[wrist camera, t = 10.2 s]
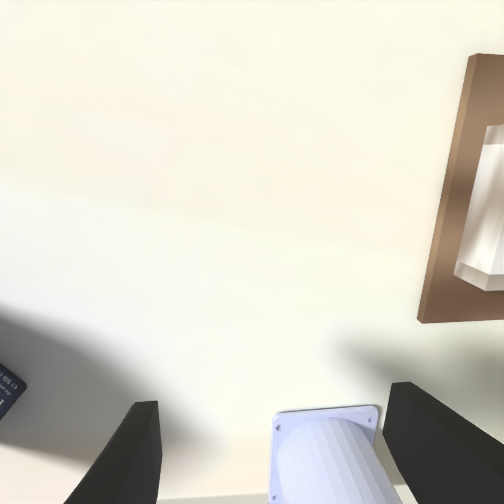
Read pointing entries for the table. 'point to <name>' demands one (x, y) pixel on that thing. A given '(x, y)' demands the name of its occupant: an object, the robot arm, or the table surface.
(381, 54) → the table surface
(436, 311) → the pocket plate
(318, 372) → the table surface
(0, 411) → the small box
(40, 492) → the table surface
